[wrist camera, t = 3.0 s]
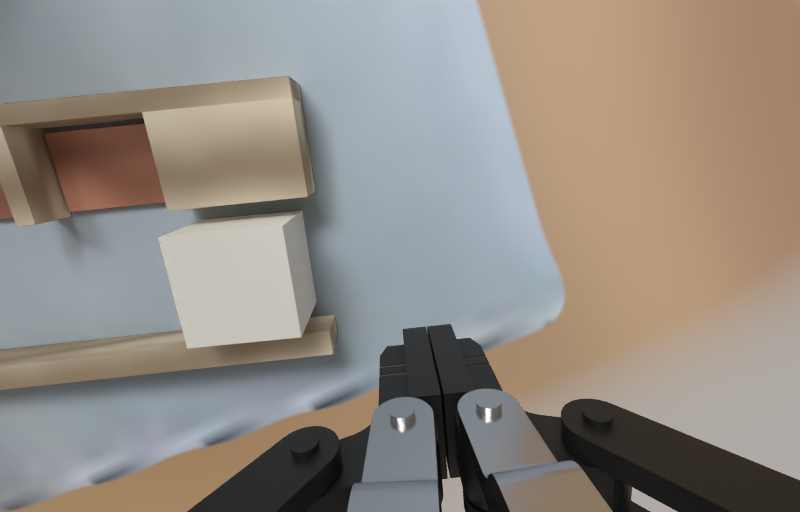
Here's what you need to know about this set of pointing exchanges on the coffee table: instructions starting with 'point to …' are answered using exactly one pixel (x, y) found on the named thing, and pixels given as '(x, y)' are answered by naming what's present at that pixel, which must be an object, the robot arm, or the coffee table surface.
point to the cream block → (241, 278)
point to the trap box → (154, 198)
